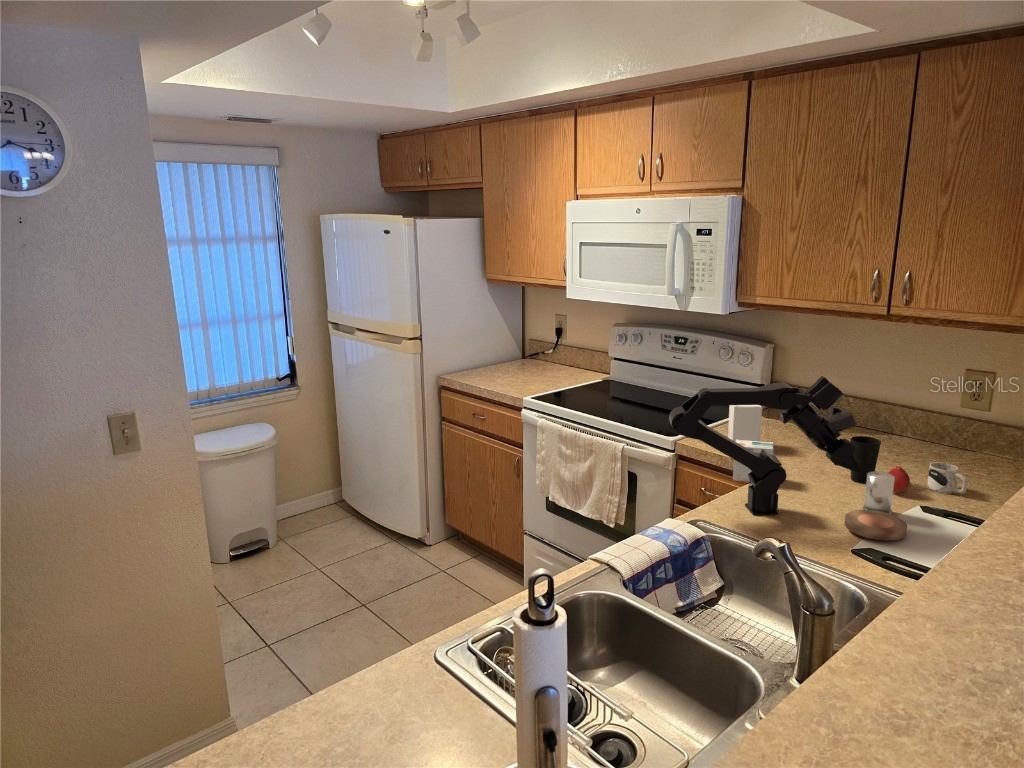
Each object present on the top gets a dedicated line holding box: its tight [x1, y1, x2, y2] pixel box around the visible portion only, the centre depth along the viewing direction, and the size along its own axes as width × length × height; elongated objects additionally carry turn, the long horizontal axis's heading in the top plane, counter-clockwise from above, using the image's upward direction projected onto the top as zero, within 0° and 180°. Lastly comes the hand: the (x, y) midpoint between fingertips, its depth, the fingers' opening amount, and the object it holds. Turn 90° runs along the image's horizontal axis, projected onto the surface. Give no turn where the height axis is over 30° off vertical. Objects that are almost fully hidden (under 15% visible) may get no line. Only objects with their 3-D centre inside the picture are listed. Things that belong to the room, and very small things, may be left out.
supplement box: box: [727, 405, 763, 442], centre depth 221 cm, size 9×9×15 cm
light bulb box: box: [732, 439, 775, 483], centre depth 193 cm, size 11×7×11 cm, turn 68°
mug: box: [926, 461, 968, 495], centre depth 181 cm, size 10×7×7 cm
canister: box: [862, 470, 895, 515], centre depth 168 cm, size 6×6×10 cm
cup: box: [849, 435, 882, 485], centre depth 190 cm, size 8×8×12 cm
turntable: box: [844, 509, 908, 541], centre depth 159 cm, size 13×13×3 cm
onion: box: [887, 464, 911, 494], centre depth 180 cm, size 6×6×8 cm
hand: (853, 465), depth 167 cm, fingers open, 9 cm apart
